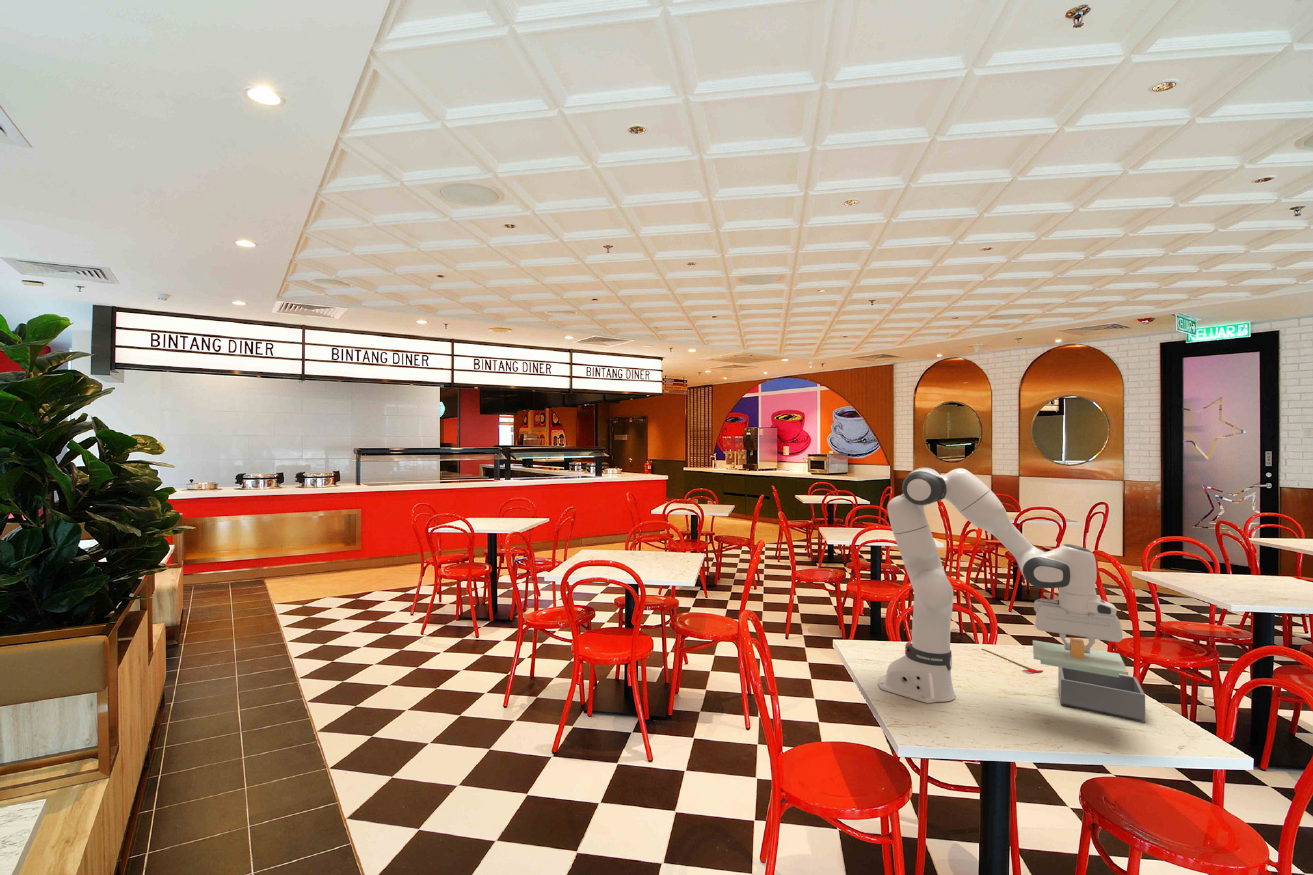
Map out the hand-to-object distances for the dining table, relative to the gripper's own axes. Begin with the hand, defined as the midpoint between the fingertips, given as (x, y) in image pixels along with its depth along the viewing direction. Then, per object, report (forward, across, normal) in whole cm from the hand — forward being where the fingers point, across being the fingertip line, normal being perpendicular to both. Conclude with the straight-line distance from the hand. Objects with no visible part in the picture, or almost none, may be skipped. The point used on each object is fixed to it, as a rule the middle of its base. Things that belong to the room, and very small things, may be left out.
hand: (1076, 651), depth 168 cm
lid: (+3, 0, 0) cm, 3 cm away
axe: (+22, -16, +50) cm, 57 cm away
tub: (+21, +7, +21) cm, 30 cm away
